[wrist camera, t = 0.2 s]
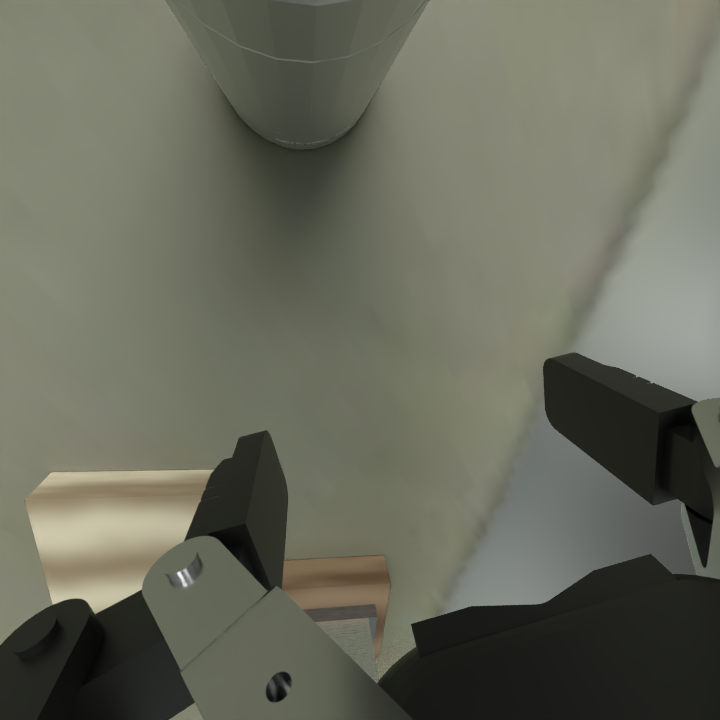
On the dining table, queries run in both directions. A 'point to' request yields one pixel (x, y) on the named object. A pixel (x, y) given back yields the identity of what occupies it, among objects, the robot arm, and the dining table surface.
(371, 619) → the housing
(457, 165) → the dining table surface
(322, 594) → the walnut stand
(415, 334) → the dining table surface
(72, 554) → the cream slab
